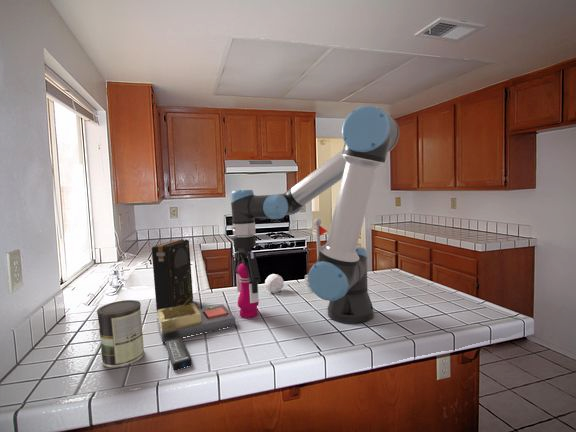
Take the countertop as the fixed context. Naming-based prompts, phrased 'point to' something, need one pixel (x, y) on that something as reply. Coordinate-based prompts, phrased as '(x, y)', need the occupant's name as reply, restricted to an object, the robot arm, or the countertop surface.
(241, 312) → the pepper mill
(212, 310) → the button
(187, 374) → the countertop surface
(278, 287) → the ball
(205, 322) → the grey board with box
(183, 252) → the voltmeter
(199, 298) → the countertop surface
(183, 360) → the multiport hub
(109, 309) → the coffee can
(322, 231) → the flag stand
